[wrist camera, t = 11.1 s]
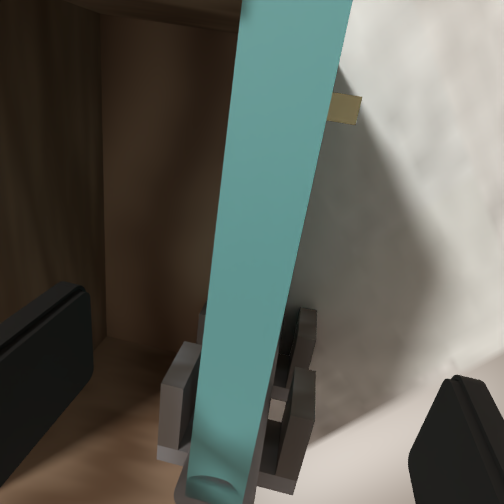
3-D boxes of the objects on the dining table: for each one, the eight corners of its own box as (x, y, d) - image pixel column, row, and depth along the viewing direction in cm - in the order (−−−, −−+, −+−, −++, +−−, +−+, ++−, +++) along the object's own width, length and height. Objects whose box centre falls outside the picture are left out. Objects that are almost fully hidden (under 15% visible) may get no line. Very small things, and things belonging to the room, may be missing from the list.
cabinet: (387, 32, 17) (545, -111, 5) (298, 382, 25) (278, 634, 14) (91, -10, 18) (-333, -198, 6) (101, 335, 27) (-73, 528, 15)
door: (354, 58, 17) (410, 2, 7) (288, 340, 24) (262, 543, 13) (283, 47, 18) (223, -24, 7) (237, 328, 24) (171, 517, 14)
